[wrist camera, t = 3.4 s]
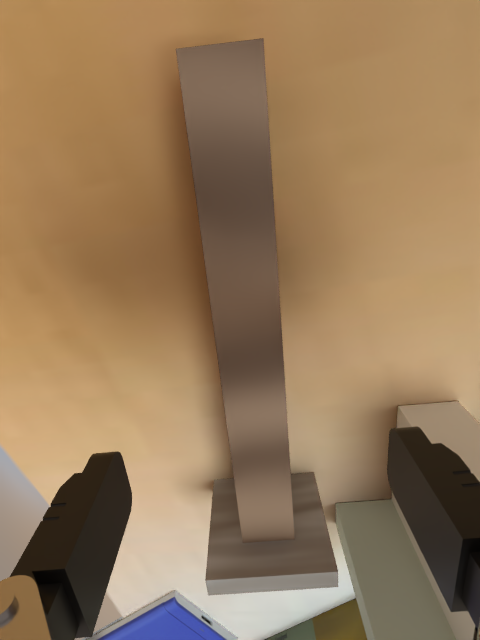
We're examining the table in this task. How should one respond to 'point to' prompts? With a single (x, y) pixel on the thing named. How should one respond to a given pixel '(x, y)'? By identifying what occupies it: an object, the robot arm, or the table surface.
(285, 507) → the post on square base
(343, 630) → the medication box
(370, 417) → the table surface
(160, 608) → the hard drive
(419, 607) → the grey upright panel
